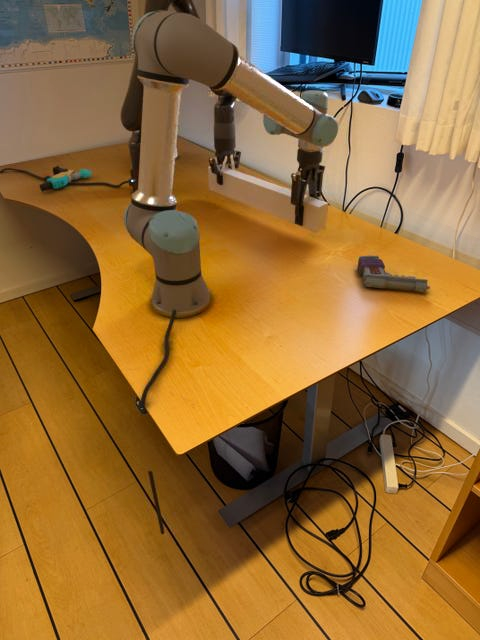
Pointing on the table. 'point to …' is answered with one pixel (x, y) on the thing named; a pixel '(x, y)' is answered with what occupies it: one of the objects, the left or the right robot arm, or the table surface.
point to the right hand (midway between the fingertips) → (304, 221)
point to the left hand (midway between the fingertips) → (225, 182)
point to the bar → (269, 198)
